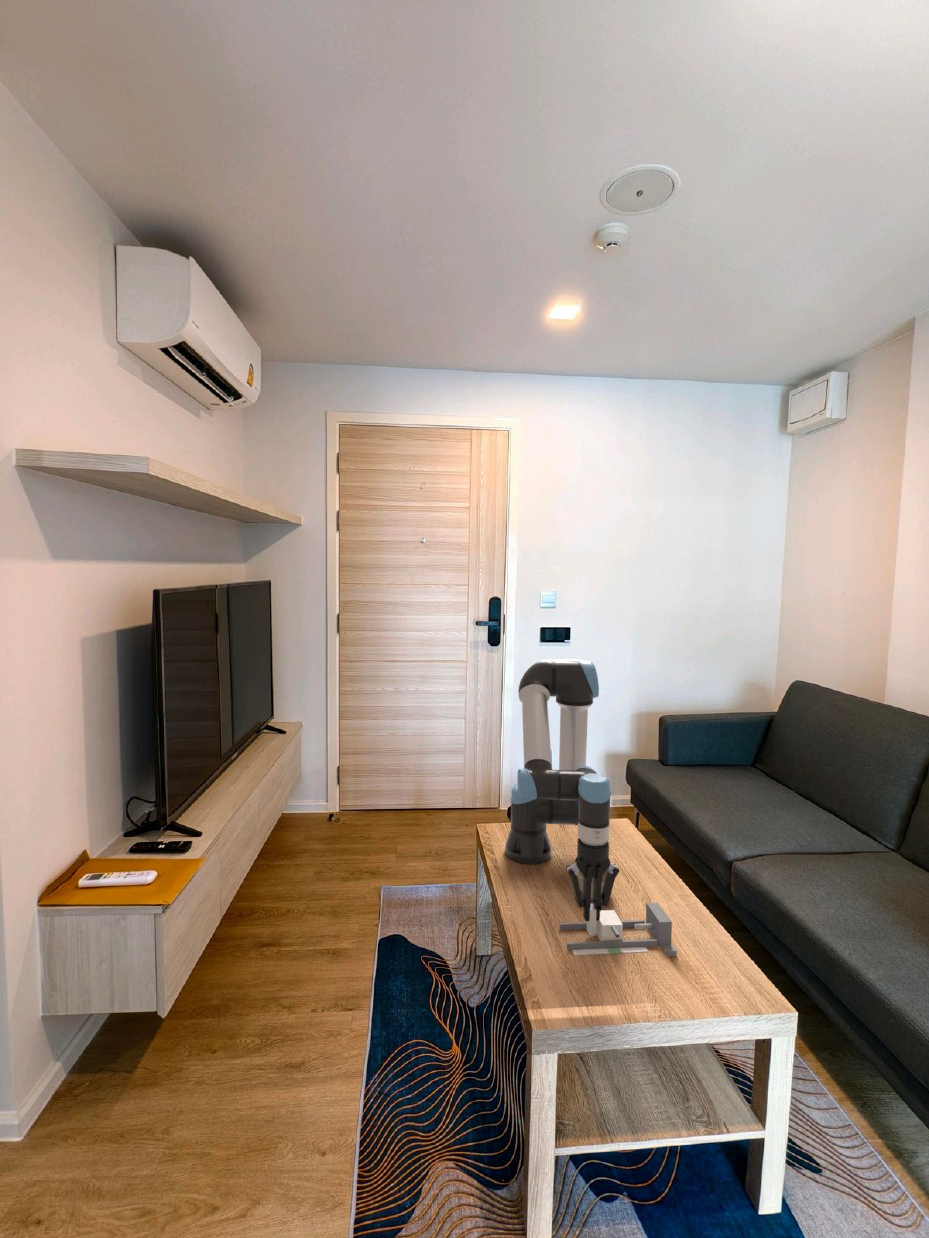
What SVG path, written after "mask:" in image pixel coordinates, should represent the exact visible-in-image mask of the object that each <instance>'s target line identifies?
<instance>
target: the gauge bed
mask: <svg viewBox="0 0 929 1238" xmlns="http://www.w3.org/2000/svg"><path fill="white" fill-rule="evenodd" d="M645 905H646V908H645V919H634V920H633V919H632V920H620V921H621V923H622V924H623V929H624V928H634V929H635V930H648V931H649V933H650V935H652V937H653V938H652V939H651V938H649V939H627V940H626V939H624V940H623V939H622V940H620V941H600V940H598V941H595V940H594V941H577V942H567V943H566V945H567V946H566V948H567V951H572V954H573V956H580V955H581V956H582V955H586V956H587V955H603V954H604V955H607V954H626V953H627V954H628V953H629V954H631V953H649V950H648V948H647V947H649V948H651V947H652V948H653V947H654V948H655V947H658V946H659V947H661V948H662V949H663V951H664V952H665V954H666V955H667V957H677V956H678V950H677V949H676V948H675V946H674V945H673V943H672V934H673V933H672V932H673V931H672V930H673V929H672V928H673V925H672V924H673V921H672V920H671V919H670V917H669V916H668V915H667V913H666V912H665V910H664V909H663V908H662V906H661V905H660V904H659V902H646V904H645ZM558 926H559V931H568V930H569V931H571V930H587V921H583V922H581V921H578V922H559V925H558Z"/></svg>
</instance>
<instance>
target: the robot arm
mask: <svg viewBox="0 0 929 1238" xmlns="http://www.w3.org/2000/svg"><path fill="white" fill-rule="evenodd" d="M599 693H600V687H599V678H598V673H597V669H596V666H595V664H594V663H593V661H590V660H584V659H583V660H582V659H542V660H538V661H536V662H535V663H534V664H532V665H531V666H529V668H528V669H527V670H526V671H525V672H524V673H523V676H522V677H521V679H520V682H519V685H518V698H519V701H520V702H521V703H522V705H521V707H522V708H521V709H522V713H521V714H522V742H523V746H522V747H523V768H519V769H518V770H517V775H516V778H517V779H516V780H517V782H516V784H515V785H513V787H512V788H511V796H510V803H511V804H510V807H511V808H510V830H509V833H508V836H507V839H506V842H505V844H504V845H505V846H504V851H505V855H506V857H508V858H509V859H510V860H512V861H513V862H516V863H520V864H525V865H536V864H542V863H546V862H547V861H548V860H549V859H550V858H551V857H552V845H551V842H550V837H549V835H548V832H547V825H563V826H565V825H568V826H577V837H578V838H577V846H576V847H577V849H576V850H577V855H576V858H575V861H574V863H573V864H572V865H570V864H568V865H566V867H565V868H566V871H567V873H568V875H569V876H570V880H571V885H572V888H573V889H572V890H573V894H574V899H575V901H576V904H577V906H578V908H583V910H582V913H583V914H582V916H583V917H582V918H583V919H584V922H587V929H586V931H587V933H588V935H589V937H595V936H597V934H596V921H599V920H600V911H602V910H603V908H602V907H607V906H608V905H609V902H610V899H611V894H612V891H613V889H614V888H613V887H614V883H615V880H616V877H617V876H618V875H619V874H620V869H619V867H618V866H617V865H616V864H615V863H612V862H611V860H610V841H609V840H610V821H611V820H610V817H611V815H610V813H611V812H610V811H611V797H612V791H611V781H610V779H609V778H608V777H607V776H604V775H603V774H600V773H597V771H596V770H595V769H593V768H592V767H591V766H588V765H587V748H588V747H587V746H588V745H587V743H588V742H587V741H588V717H589V716H588V713H589V712H588V710H589V708H590V707H591V706H592V705H593V704H594V699H596V698H598V697H599ZM551 697H552V698H553V697H555V702H556V703H557V705H558V706H560V707H559V708H560V715H559V716H560V717H559V718H560V719H559V750H558V751H559V752H558V753H559V755H558V769H553V764H552V763H553V762H552V761H553V760H552V751H551V736H550V722H549V708H548V701H550V698H551ZM578 869H579V870H580V871H581V873H582V874H583V892H582V891H581V887H580V884H579V879H578ZM606 870H608V872H607V875H606V878H605V882H604V886H603V890H602V893H601V883H602V876H603V874H604V873H605V872H606ZM592 878H594V881H593V900H592V899H591V883H592ZM581 892H582V893H581ZM591 901H592V902H593V903H592V902H591Z"/></svg>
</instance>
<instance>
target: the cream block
mask: <svg viewBox="0 0 929 1238" xmlns="http://www.w3.org/2000/svg"><path fill="white" fill-rule="evenodd" d="M621 921H622V920H621V919H620V917H619V916H618V914H617V912H616V911H615V909H611V910H610V909H606V910H605V909H602V910H601V911H600V920H599V921H596V936H597V938H598V941H620V940H623V933H624V932H623V929H624V928H623V924H622V923H621Z"/></svg>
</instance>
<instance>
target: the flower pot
mask: <svg viewBox="0 0 929 1238" xmlns="http://www.w3.org/2000/svg"><path fill="white" fill-rule="evenodd" d="M577 872H578V873H577V879H578V883H579V887H580V890H581V892H582V893H583V874H582V873H581V871H580V870H579V868H578V869H577ZM607 872H608V870H606V872H605V873H604V874H603V876H602V883H601V893H602V890H603V886H604V882H605V878H606V875H607ZM593 881H594V878H592V883H591V901H593Z"/></svg>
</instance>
